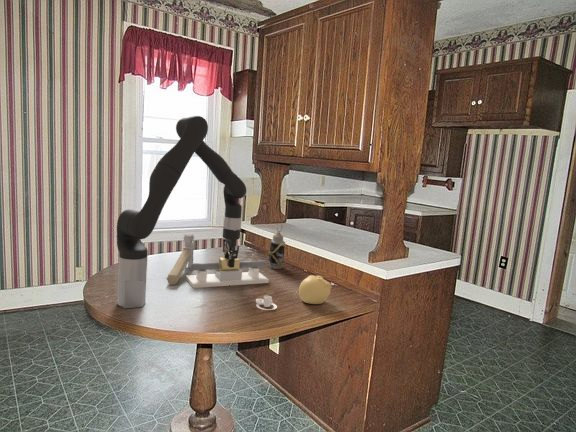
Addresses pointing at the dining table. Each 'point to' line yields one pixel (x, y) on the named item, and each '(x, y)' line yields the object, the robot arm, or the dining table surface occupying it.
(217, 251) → the dining table surface
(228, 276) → the shaft rig
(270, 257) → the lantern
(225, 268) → the gold rectangular block
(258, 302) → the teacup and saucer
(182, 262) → the hammer
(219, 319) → the dining table surface
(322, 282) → the tan round ball
